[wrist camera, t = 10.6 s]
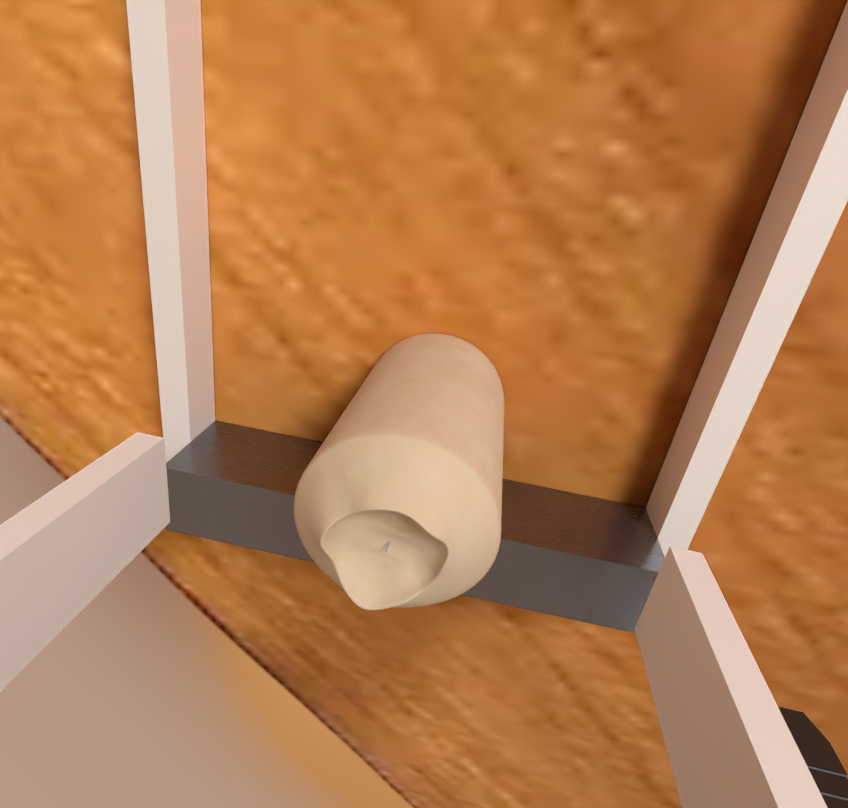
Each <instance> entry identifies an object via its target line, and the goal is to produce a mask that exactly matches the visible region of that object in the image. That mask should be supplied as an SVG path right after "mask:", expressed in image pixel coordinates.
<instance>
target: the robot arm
mask: <svg viewBox="0 0 848 808" xmlns="http://www.w3.org/2000/svg"><path fill="white" fill-rule="evenodd" d="M169 523H170V511H169V497H168V483H167V469H166V454H165V440H164V438H163V437H158V436H153V435H149V434H144V433H139V432H137V433H135V434H134V435H132V436H131V437H129V438H128V439H126V440H125V441H123V442H122V443H121V444H119V445H118V446H116V447H115V448H113V449H112V450H110V451H109V452H107V453H106V454H104V455H103V456H101V457H100V458H98V459H97V460H95V461H94V462H92V463H91V464H89V465H88V466H87V467H85V468H84V469H82V470H81V471H79V472H78V473H76V474H75V475H73V476H72V477H70V478H69V479H67V480H66V481H64V482H63V483H61V484H60V485H58V486H57V487H55V488H54V489H53V490H51V491H50V492H48V493H47V494H45V495H44V496H42V497H41V498H39V499H38V500H36V501H35V502H33V503H32V504H31V505H29V506H28V507H26V508H25V509H23V510H22V511H20V512H19V513H17V514H16V515H14V516H13V517H12V518H10V519H8V520H7V521H5V522H4V523H2V524H0V692H1V691H2V690H3V689H4V688H5V687H6V686H7V685H8V684H9V683H10V682H11V681H12V680H13V679H14V678H15V677H16V676H17V675H18V674H19V673H20V672H21V671H22V670H23V669H24V668H25V667H26V666H27V665H28V664H29V663H30V662H31V661H32V660H33V659H34V658H35V657H36V656H37V655H38V654H39V653H40V652H41V651H42V650H43V649H44V648H45V647H46V646H47V645H48V644H49V643H50V642H51V641H52V640H53V639H54V638H55V637H56V636H57V635H58V634H59V633H60V632H61V631H62V630H63V629H64V628H65V627H66V626H67V625H68V624H69V623H70V622H71V621H72V620H73V619H74V618H75V617H76V616H77V615H78V614H79V613H80V612H81V611H82V610H83V609H84V608H85V607H86V606H87V605H88V604H89V603H90V602H91V601H92V600H93V599H94V598H95V597H96V596H97V595H98V594H99V593H100V592H101V591H102V590H103V589H104V588H105V587H106V586H107V585H108V584H109V583H110V582H111V581H112V580H113V579H114V578H115V577H116V576H117V575H118V574H119V573H120V572H121V571H122V570H123V569H124V568H125V567H126V566H127V565H128V564H129V563H130V562H131V561H132V560H133V559H134V558H135V557H136V556H137V555H138V554H139V553H140V552H141V551H142V550H143V549H144V548H145V547H146V546H147V545H148V544H149V543H150V542H151V541H152V540H153V539H154V538H155V537H156V536H157V535H158V534H159V533H160V532H161V531H162V530H163V529H164V528H165V527H166V526H167V525H168V524H169ZM635 631H636V635H637V639H638V643H639V646H640V650H641V654H642V658H643V662H644V665H645V669H646V673H647V677H648V681H649V684H650V688H651V692H652V696H653V700H654V703H655V707H656V711H657V715H658V719H659V723H660V726H661V730H662V734H663V738H664V742H665V745H666V749H667V753H668V757H669V761H670V764H671V768H672V772H673V776H674V780H675V784H676V787H677V791H678V795H679V799H680V803H681V806H682V808H848V779H847V777H846V775H847V773H846V771H845V770H844V768H843V766H842V764H841V762H840V761H839V759H838V757H837V755H836V753H835V752H834V750H833V748H832V746H831V744H830V742H829V741H828V740H827V739H826V738H825V737H824V736H823V734H822V733H821V732H820V731H819V730H818V729H817V728H816V727H815V726H814V724H813V723H812V722H811V721H810V720H809V719H808V718H807V717H806V715H805V714H804V713H803V712H798V711H794V710H790V709H786V708H782V707H778V706H777V704H776V702H775V700H774V698H773V696H772V694H771V692H770V690H769V688H768V686H767V684H766V682H765V680H764V678H763V676H762V674H761V672H760V670H759V668H758V665H757V663H756V661H755V659H754V657H753V655H752V653H751V651H750V649H749V647H748V645H747V643H746V641H745V639H744V637H743V635H742V633H741V631H740V629H739V627H738V625H737V623H736V621H735V619H734V617H733V615H732V613H731V611H730V609H729V607H728V605H727V603H726V601H725V599H724V597H723V595H722V592H721V590H720V588H719V586H718V584H717V582H716V580H715V578H714V576H713V574H712V572H711V570H710V568H709V566H708V564H707V562H706V560H705V558H704V556H703V554H702V553H699V552H694V551H689V550H685V549H680V548H675V547H671V546H670V547H669V550H668V552H667V554H666V557H665V559H664V561H663V564H662V566H661V568H660V571H659V573H658V575H657V578H656V580H655V582H654V585H653V587H652V589H651V592H650V594H649V596H648V599H647V601H646V603H645V606H644V608H643V610H642V613H641V615H640V617H639V620H638V622H637V624H636V627H635Z"/></svg>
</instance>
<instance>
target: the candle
mask: <svg viewBox="0 0 848 808" xmlns="http://www.w3.org/2000/svg"><path fill="white" fill-rule="evenodd" d="M503 437H504V393H503V387H502V384H501V380H500V378H499V376H498V373H497V371H496V369H495V367H494V366H493V364H492V363H491V361H490V360H489V359H488V358H487V356H486V355H485V354H484V353H483V352H481V351H480V350H479V349H478V348H477V347H475V346H474V345H472V344H471V343H469V342H467V341H465V340H463V339H461V338H458V337H455V336H451V335H448V334H441V333H427V334H419V335H416V336H412V337H409V338H407V339H404V340H402V341H401V342H399V343H397V344H396V345H394V346H393V347H391V348H390V349H389V350H388V351H387V352H386V353H385V354H384V355H383V356H382V357H381V358H380V359H379V361H378V362H377V363H376V365H375V366H374V367H373V369H372V370H371V372H370V373H369V375H368V376H367V378H366V379H365V381H364V382H363V384H362V385H361V387H360V388H359V390H358V391H357V393H356V394H355V396H354V397H353V399H352V400H351V402H350V403H349V405H348V406H347V408H346V409H345V411H344V412H343V414H342V415H341V417H340V418H339V420H338V421H337V423H336V424H335V426H334V427H333V429H332V430H331V432H330V433H329V435H328V436H327V438H326V439H325V441H324V442H323V444H322V445H321V447H320V448H319V450H318V451H317V453H316V454H315V456H314V457H313V459H312V460H311V462H310V463H309V465H308V466H307V468H306V469H305V471H304V472H303V474H302V476H301V478H300V480H299V482H298V485H297V489H296V492H295V498H294V518H295V524H296V528H297V531H298V534H299V537H300V539H301V541H302V543H303V546H304V547H305V549H306V551H307V552H308V554H309V555H310V557H311V558H312V559H313V561H314V562H315V563H316V564H317V565H318V567H319V568H320V569H321V570H322V571H323V572H324V573H325V574H326V575H327V576H328V577H329V578H330V579H331V580H332V581H333V582H334V583H336V584H337V585H338V586H339V587H340V588H341V589H343V590H344V591H345V592H346V594H347V595H348V596H349V598H350V599H351V600H352V601H353V603H355V604H356V605H357V606H358V607H360V608H363V609H366V610H382V609H387V608H391V607H398V608H407V607H419V606H427V605H432V604H436V603H440V602H444V601H447V600H449V599H452V598H455V597H457V596H459V595H461V594H463V593H465V592H466V591H468V590H469V589H470V588H472V587H473V586H475V585H476V584H477V583H478V582H479V581H480V580H481V579H482V578H483V577H484V576H485V574H486V573H487V572H488V571H489V569H490V568H491V566H492V564H493V562H494V561H495V558H496V556H497V553H498V550H499V546H500V540H501V517H502V477H503Z"/></svg>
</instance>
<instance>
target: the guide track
mask: <svg viewBox="0 0 848 808" xmlns="http://www.w3.org/2000/svg"><path fill="white" fill-rule="evenodd" d="M126 3H127V15H128V27H129V39H130V50H131V62H132V74H133V86H134V98H135V110H136V121H137V133H138V145H139V157H140V169H141V180H142V192H143V204H144V216H145V228H146V239H147V251H148V263H149V275H150V287H151V298H152V310H153V322H154V334H155V346H156V358H157V369H158V381H159V393H160V405H161V417H162V428H163V438H164V440H165V454H166V469H167V483H168V497H169V511H170V523H169V524H168V525H167V530H171V531H175V532H180V533H184V534H189V535H193V536H198V537H202V538H207V539H211V540H216V541H220V542H225V543H229V544H234V545H238V546H243V547H247V548H252V549H257V550H261V551H266V552H270V553H275V554H279V555H284V556H288V557H293V558H297V559H302V560H306V561H311V562H314V561H313V559H312V558H311V557H310V555H309V554H308V552H307V551H306V549H305V547H304V546H303V543H302V541H301V539H300V537H299V534H298V531H297V528H296V524H295V518H294V498H295V492H296V489H297V485H298V482H299V480H300V478H301V476H302V474H303V472H304V471H305V469H306V468H307V466H308V465H309V463H310V462H311V460H312V459H313V457H314V456H315V454H316V453H317V451H318V450H319V448H320V447H321V445H322V444H323V442H318V441H313V440H308V439H303V438H298V437H294V436H289V435H284V434H279V433H274V432H269V431H264V430H259V429H254V428H249V427H244V426H239V425H234V424H229V423H225V422H220V421H215V402H214V373H213V345H212V316H211V288H210V259H209V230H208V202H207V173H206V145H205V116H204V88H203V59H202V31H201V2H200V0H126ZM847 201H848V1H847V3H846V6H845V8H844V11H843V13H842V16H841V18H840V21H839V23H838V26H837V28H836V31H835V33H834V36H833V38H832V41H831V44H830V46H829V49H828V51H827V54H826V56H825V59H824V61H823V64H822V66H821V69H820V71H819V74H818V76H817V79H816V81H815V84H814V86H813V89H812V91H811V94H810V96H809V99H808V101H807V104H806V106H805V109H804V111H803V114H802V116H801V119H800V121H799V124H798V126H797V129H796V131H795V134H794V136H793V139H792V141H791V144H790V146H789V149H788V152H787V154H786V157H785V159H784V162H783V164H782V167H781V169H780V172H779V174H778V177H777V179H776V182H775V184H774V187H773V189H772V192H771V194H770V197H769V199H768V202H767V204H766V207H765V209H764V212H763V214H762V217H761V219H760V222H759V224H758V227H757V229H756V232H755V234H754V237H753V239H752V242H751V244H750V247H749V249H748V252H747V255H746V257H745V260H744V262H743V265H742V267H741V270H740V272H739V275H738V277H737V280H736V282H735V285H734V287H733V290H732V292H731V295H730V297H729V300H728V302H727V305H726V307H725V310H724V312H723V315H722V317H721V320H720V322H719V325H718V327H717V330H716V332H715V335H714V337H713V340H712V342H711V345H710V347H709V350H708V352H707V355H706V358H705V360H704V363H703V365H702V368H701V370H700V373H699V375H698V378H697V380H696V383H695V385H694V388H693V390H692V393H691V395H690V398H689V400H688V403H687V405H686V408H685V410H684V413H683V415H682V418H681V420H680V423H679V425H678V428H677V430H676V433H675V435H674V438H673V440H672V443H671V445H670V448H669V450H668V453H667V455H666V458H665V461H664V463H663V466H662V468H661V471H660V473H659V476H658V478H657V481H656V483H655V486H654V488H653V491H652V493H651V496H650V498H649V501H648V503H647V506H646V508H643V507H638V506H634V505H629V504H624V503H619V502H614V501H609V500H604V499H599V498H594V497H589V496H584V495H579V494H574V493H569V492H565V491H560V490H555V489H550V488H545V487H540V486H535V485H530V484H525V483H520V482H515V481H510V480H505V479H502V517H501V540H500V546H499V550H498V553H497V556H496V558H495V561H494V562H493V564H492V566H491V568H490V569H489V571H488V572H487V573H486V574H485V576H484V577H483V578H482V579H481V580H480V581H479V582H478V583H477V584H476V585H475V586H473V587H472V588H470V589H469V590H468V591H466V592H465V593H463V594H461V595H465V596H469V597H474V598H478V599H483V600H487V601H492V602H496V603H501V604H505V605H510V606H514V607H519V608H523V609H528V610H532V611H537V612H542V613H546V614H551V615H555V616H560V617H564V618H569V619H573V620H578V621H582V622H587V623H591V624H596V625H600V626H605V627H609V628H614V629H618V630H623V631H627V632H632V633H636V631H635V627H636V624H637V622H638V620H639V617H640V615H641V613H642V610H643V608H644V606H645V603H646V601H647V599H648V596H649V594H650V592H651V589H652V587H653V585H654V582H655V580H656V578H657V575H658V573H659V571H660V568H661V566H662V564H663V561H664V559H665V557H666V554H667V552H668V550H669V547H670V546H671V547H675V548H680V549H685V550H687V549H688V547H689V545H690V542H691V540H692V538H693V536H694V534H695V532H696V529H697V527H698V525H699V523H700V521H701V518H702V516H703V514H704V512H705V510H706V508H707V505H708V503H709V501H710V499H711V497H712V495H713V492H714V490H715V488H716V486H717V484H718V482H719V479H720V477H721V475H722V473H723V471H724V468H725V466H726V464H727V462H728V460H729V458H730V455H731V453H732V451H733V449H734V447H735V445H736V442H737V440H738V438H739V436H740V434H741V431H742V429H743V427H744V425H745V423H746V421H747V418H748V416H749V414H750V412H751V410H752V408H753V405H754V403H755V401H756V399H757V397H758V394H759V392H760V390H761V388H762V386H763V384H764V381H765V379H766V377H767V375H768V373H769V371H770V368H771V366H772V364H773V362H774V360H775V357H776V355H777V353H778V351H779V349H780V347H781V344H782V342H783V340H784V338H785V336H786V334H787V331H788V329H789V327H790V325H791V323H792V321H793V318H794V316H795V314H796V312H797V310H798V307H799V305H800V303H801V301H802V299H803V297H804V294H805V292H806V290H807V288H808V286H809V284H810V281H811V279H812V277H813V275H814V273H815V270H816V268H817V266H818V264H819V262H820V260H821V257H822V255H823V253H824V251H825V249H826V247H827V244H828V242H829V240H830V238H831V236H832V233H833V231H834V229H835V227H836V225H837V223H838V220H839V218H840V216H841V214H842V212H843V210H844V207H845V205H846V203H847Z"/></svg>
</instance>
